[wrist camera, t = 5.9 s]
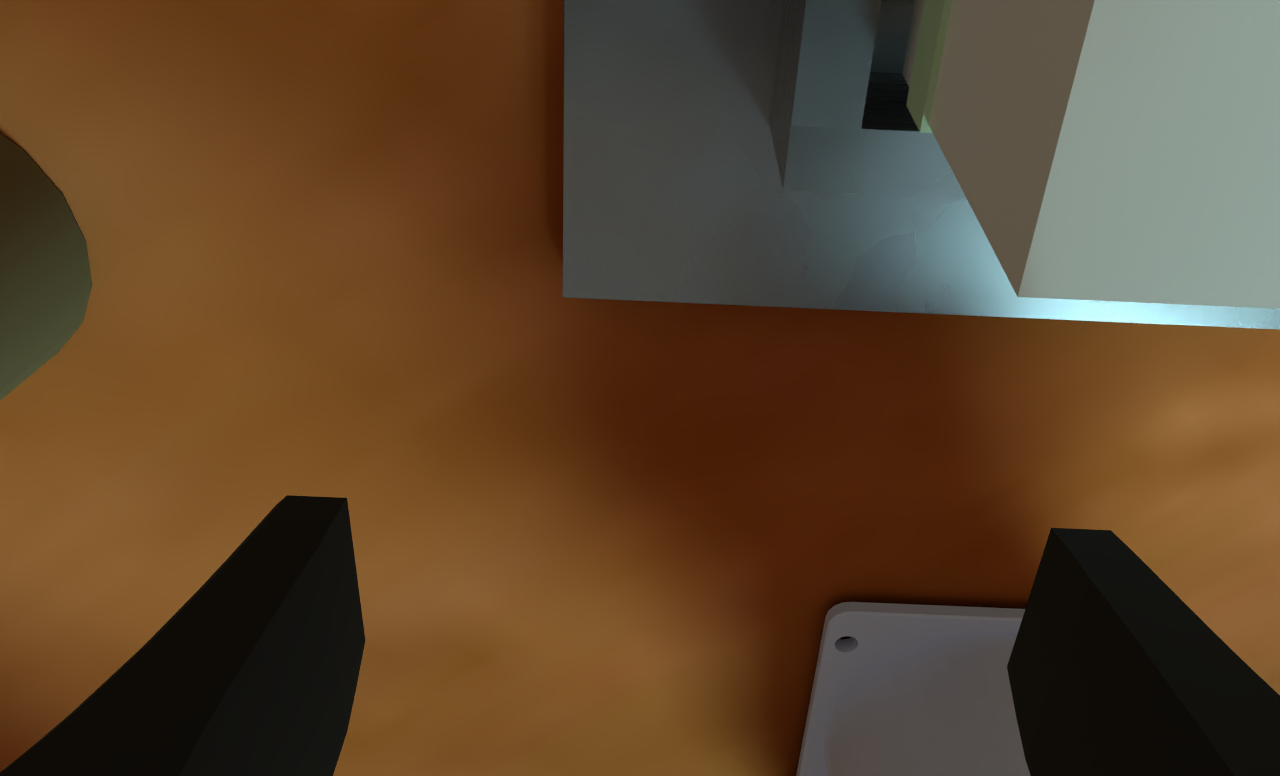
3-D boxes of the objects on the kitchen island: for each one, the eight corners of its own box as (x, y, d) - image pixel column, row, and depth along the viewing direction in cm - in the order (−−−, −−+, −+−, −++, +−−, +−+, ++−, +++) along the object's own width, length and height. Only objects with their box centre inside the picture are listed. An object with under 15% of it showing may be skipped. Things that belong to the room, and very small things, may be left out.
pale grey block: (1182, 93, 17) (1429, 324, 11) (894, 80, 17) (1004, 305, 11) (1285, -233, 14) (1659, -138, 9) (950, -250, 14) (1124, -164, 9)
